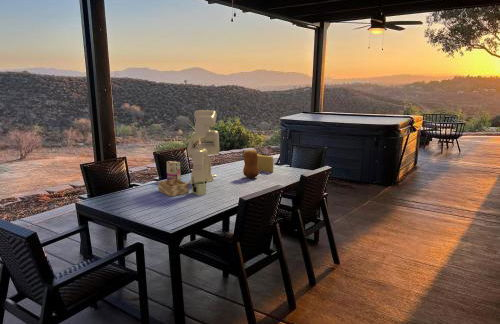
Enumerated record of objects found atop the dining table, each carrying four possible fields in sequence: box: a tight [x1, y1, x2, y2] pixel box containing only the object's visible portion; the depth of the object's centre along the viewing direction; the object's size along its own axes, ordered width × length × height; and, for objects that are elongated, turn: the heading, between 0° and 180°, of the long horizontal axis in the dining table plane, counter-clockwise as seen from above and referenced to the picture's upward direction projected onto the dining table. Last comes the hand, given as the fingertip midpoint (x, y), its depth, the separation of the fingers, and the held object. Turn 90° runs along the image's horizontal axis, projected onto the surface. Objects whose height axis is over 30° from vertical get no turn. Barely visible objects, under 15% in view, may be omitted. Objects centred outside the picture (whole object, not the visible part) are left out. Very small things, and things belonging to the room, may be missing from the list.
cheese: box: [257, 153, 274, 174], centre depth 332 cm, size 22×10×15 cm, turn 48°
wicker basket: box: [157, 179, 190, 197], centre depth 261 cm, size 15×19×7 cm
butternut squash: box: [242, 149, 260, 180], centre depth 303 cm, size 14×13×25 cm
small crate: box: [191, 182, 207, 197], centre depth 257 cm, size 6×10×8 cm, turn 38°
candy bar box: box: [165, 160, 182, 181], centre depth 292 cm, size 11×5×16 cm, turn 62°
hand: (199, 191), depth 257 cm, fingers closed on small crate, 6 cm apart
